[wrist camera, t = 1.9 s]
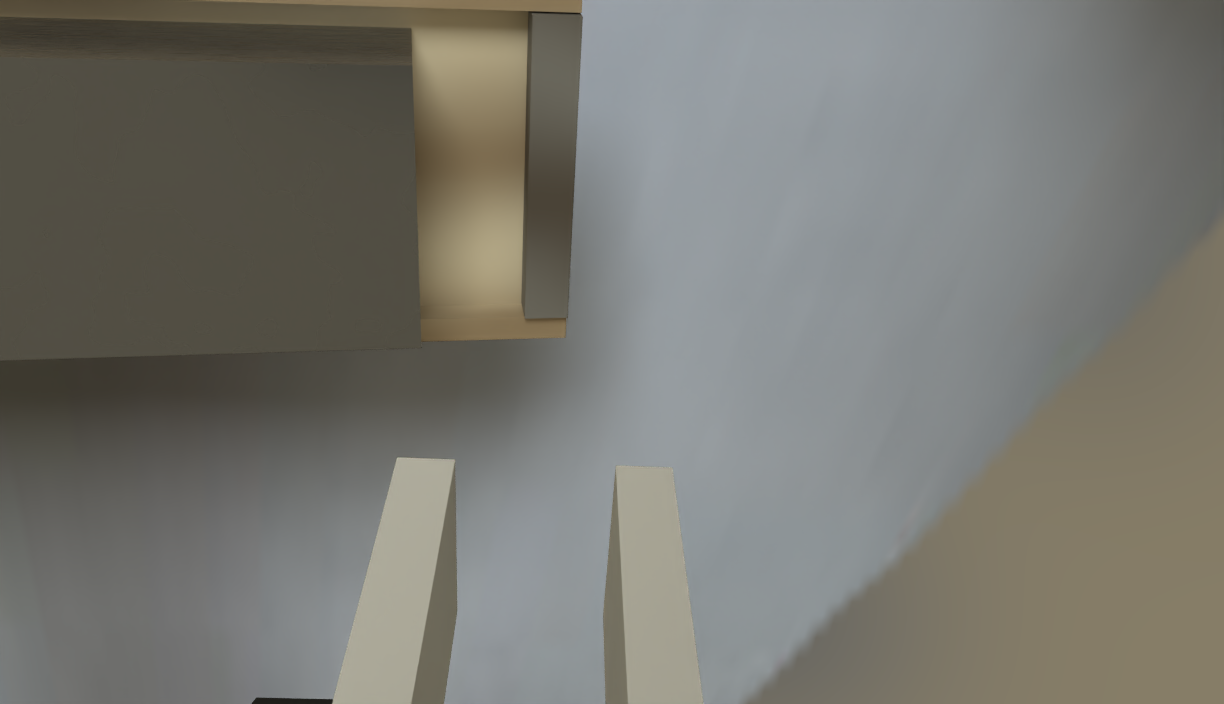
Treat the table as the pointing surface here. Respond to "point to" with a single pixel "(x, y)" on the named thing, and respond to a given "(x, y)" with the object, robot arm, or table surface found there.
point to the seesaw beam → (455, 142)
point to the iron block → (205, 189)
